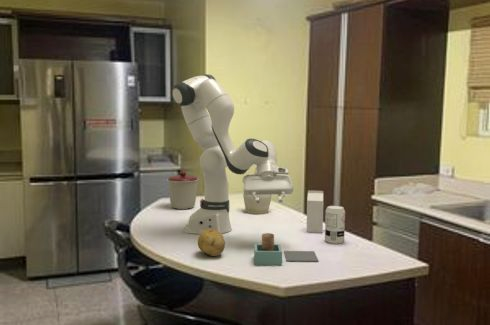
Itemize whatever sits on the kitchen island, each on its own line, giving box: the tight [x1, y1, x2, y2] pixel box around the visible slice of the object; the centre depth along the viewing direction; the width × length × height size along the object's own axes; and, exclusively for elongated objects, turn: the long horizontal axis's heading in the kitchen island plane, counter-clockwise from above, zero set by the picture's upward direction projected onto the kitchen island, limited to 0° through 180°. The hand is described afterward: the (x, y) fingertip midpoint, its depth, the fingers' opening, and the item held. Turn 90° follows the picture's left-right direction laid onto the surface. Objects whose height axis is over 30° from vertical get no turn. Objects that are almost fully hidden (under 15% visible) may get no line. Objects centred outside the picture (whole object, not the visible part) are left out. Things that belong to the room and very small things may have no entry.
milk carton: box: [306, 190, 324, 234], centre depth 226 cm, size 7×7×19 cm
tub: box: [253, 243, 283, 266], centre depth 182 cm, size 10×10×5 cm
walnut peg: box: [261, 232, 275, 251], centre depth 182 cm, size 4×4×10 cm
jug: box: [242, 166, 272, 215], centre depth 265 cm, size 15×16×25 cm
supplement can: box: [324, 205, 346, 245], centre depth 208 cm, size 8×8×15 cm
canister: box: [166, 170, 200, 210], centre depth 275 cm, size 18×18×21 cm
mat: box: [283, 250, 319, 263], centre depth 187 cm, size 12×12×1 cm
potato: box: [197, 229, 226, 257], centre depth 189 cm, size 10×12×10 cm
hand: (269, 201), depth 194 cm, fingers open, 8 cm apart
